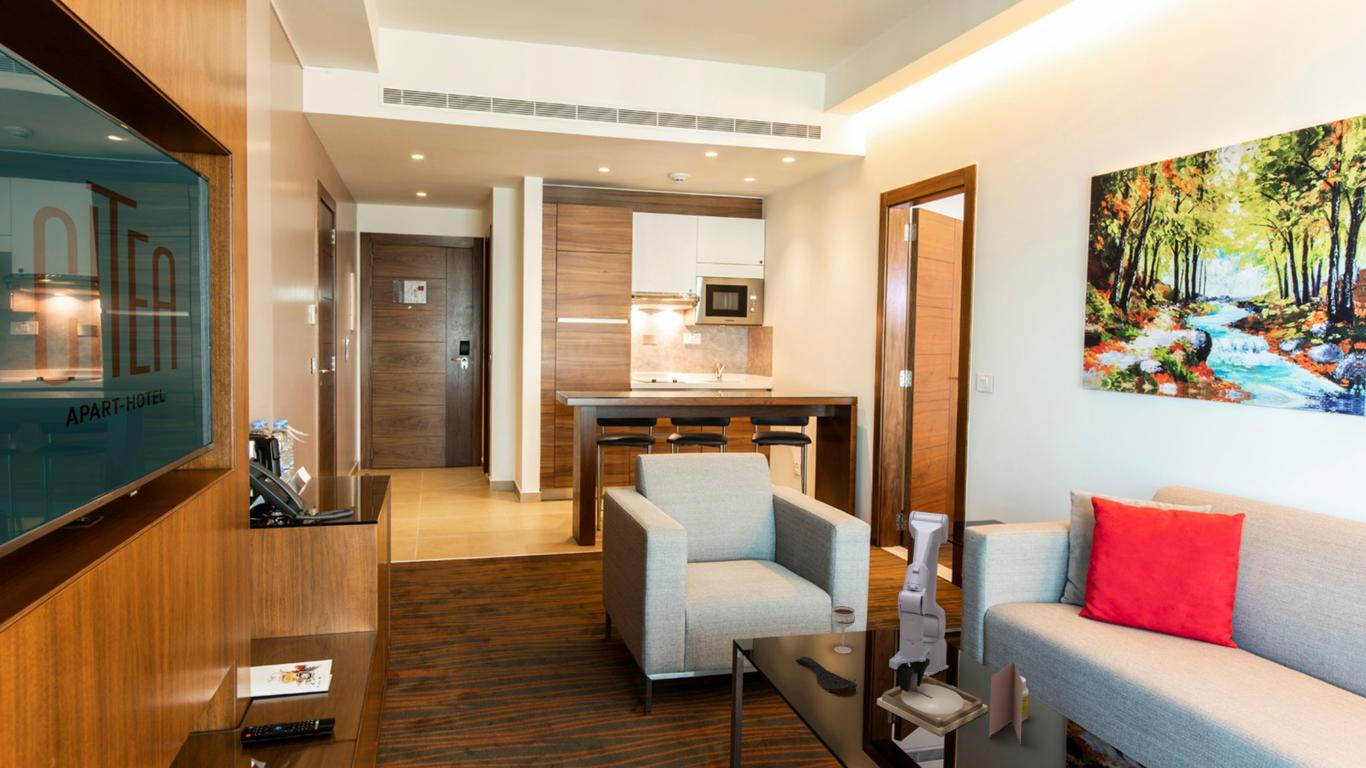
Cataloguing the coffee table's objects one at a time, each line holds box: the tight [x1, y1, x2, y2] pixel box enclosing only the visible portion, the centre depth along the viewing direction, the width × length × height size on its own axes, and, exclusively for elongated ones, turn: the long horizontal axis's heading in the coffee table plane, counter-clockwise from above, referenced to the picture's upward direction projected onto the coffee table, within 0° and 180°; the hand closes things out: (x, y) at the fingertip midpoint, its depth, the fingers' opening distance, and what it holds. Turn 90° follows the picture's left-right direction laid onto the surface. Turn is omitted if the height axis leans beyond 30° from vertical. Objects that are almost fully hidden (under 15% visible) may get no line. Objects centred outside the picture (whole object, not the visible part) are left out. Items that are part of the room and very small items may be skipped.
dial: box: [901, 671, 964, 717], centre depth 208 cm, size 15×15×5 cm
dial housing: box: [876, 675, 989, 737], centre depth 208 cm, size 19×19×3 cm
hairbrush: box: [798, 656, 858, 693], centre depth 226 cm, size 8×4×25 cm
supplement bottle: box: [1020, 675, 1030, 720], centre depth 204 cm, size 5×5×10 cm
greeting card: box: [988, 661, 1023, 745], centre depth 195 cm, size 11×7×15 cm, turn 133°
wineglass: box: [831, 605, 856, 654], centre depth 242 cm, size 7×7×12 cm
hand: (910, 687), depth 212 cm, fingers open, 4 cm apart
